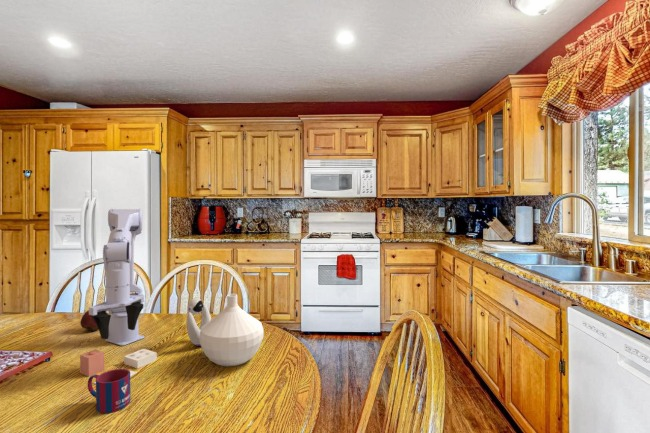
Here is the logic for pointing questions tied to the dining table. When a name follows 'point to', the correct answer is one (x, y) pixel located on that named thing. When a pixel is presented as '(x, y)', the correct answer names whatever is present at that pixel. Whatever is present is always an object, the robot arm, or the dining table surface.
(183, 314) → the dining table surface
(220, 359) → the vase
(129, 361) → the base brick
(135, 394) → the dining table surface
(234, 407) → the dining table surface
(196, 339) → the toy
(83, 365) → the red brick
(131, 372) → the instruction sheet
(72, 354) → the dining table surface
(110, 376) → the mug
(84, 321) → the apple
